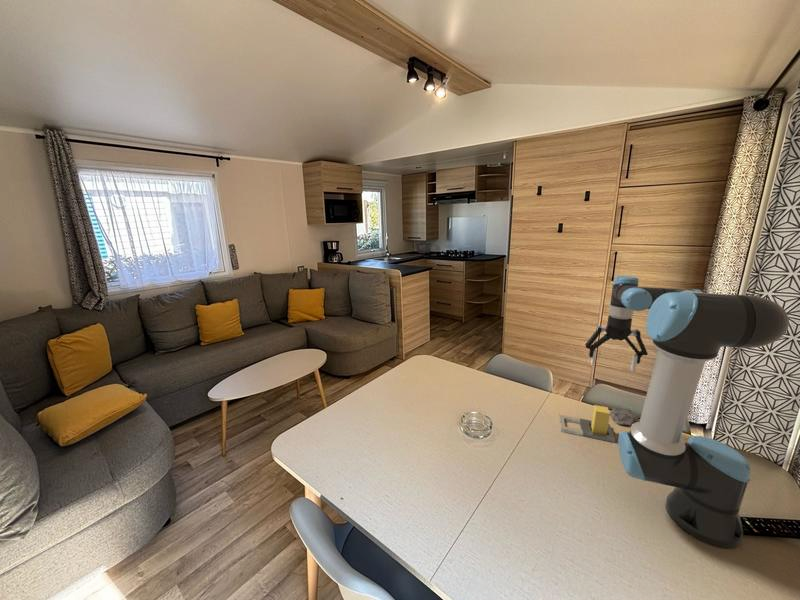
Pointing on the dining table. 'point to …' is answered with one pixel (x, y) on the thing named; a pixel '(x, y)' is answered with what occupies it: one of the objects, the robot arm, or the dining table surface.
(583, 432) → the grey flat frame
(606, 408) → the block
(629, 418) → the rock
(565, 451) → the dining table surface
